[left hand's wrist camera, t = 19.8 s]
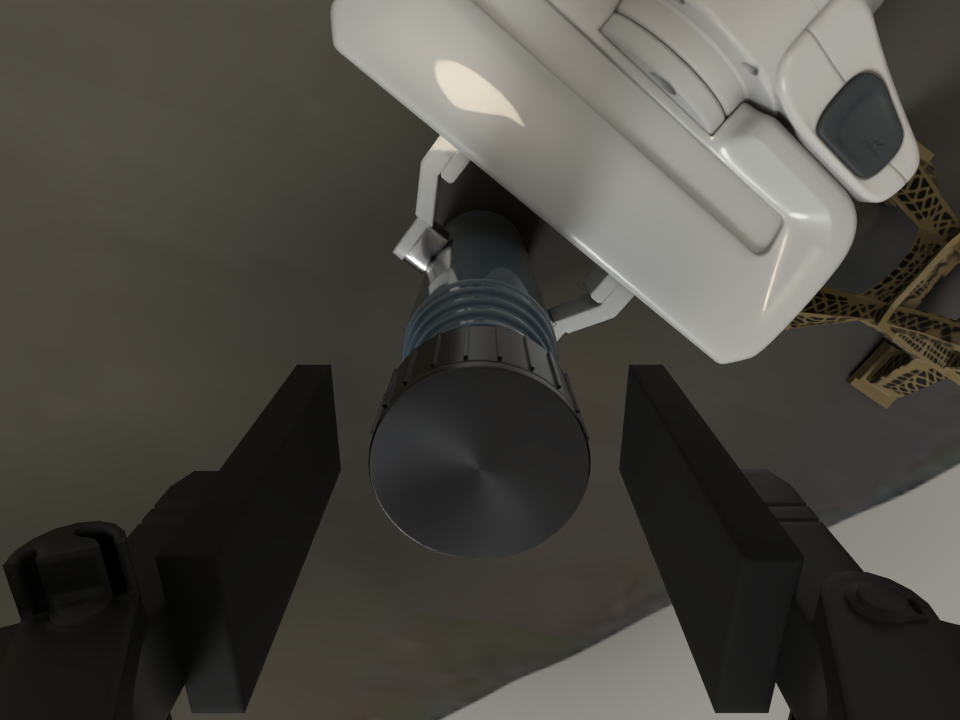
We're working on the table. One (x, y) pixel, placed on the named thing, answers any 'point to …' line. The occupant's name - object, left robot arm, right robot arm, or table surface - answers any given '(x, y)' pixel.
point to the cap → (479, 444)
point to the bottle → (480, 285)
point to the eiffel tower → (904, 300)
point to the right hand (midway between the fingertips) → (467, 305)
